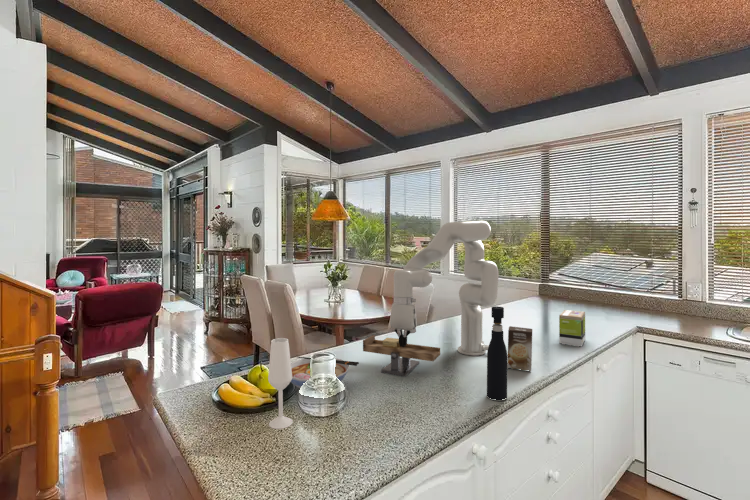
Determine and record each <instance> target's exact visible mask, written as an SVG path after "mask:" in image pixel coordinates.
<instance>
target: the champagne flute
mask: <svg viewBox="0 0 750 500" xmlns="http://www.w3.org/2000/svg"><path fill="white" fill-rule="evenodd" d="M291 363H292V361H291V352H290V344H289V339H288V338H285V337H279V338H274V339H272V340H270V352H269V364H268V377H267V379H268V383H269V384H270V385H271V387H272V388H274V389H275V390H277V392H278V393H277V395H278V396H277V397H278V415H277V417H275V418H274V419H272V420H270V421H269V423H268V426H269V428H272V429H275V430H281V429H285V428H288V427H290V426H292V424H293V422H294V421H293V419H292V418H290V417H287V416H284V406H283V405H284V404H283V403H284V399H283V398H284V397H283V396H284V394H283V390H284V389H286V388H287V387H288V386H289V385H290V383H292V382H291V380H292V369H291Z"/></svg>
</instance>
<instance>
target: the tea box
mask: <svg viewBox="0 0 750 500" xmlns="http://www.w3.org/2000/svg"><path fill="white" fill-rule="evenodd" d="M558 319H559V320H558V322H559V323H558V324H559V325H558V328H559V329H558V331H559V332H558V333H559V334H558V335H559V336H558V338H559V339H558V341H559V344H560V343H562V344H561V345H565V344H568V345H567V346H571V345H575V346H574V347H579V346H581V347H582V346H583V344H584V342H585V340H586V311H582V310H581V311H579V310H570V309H569V310H567V309H564V310H563V311H562V312H561V313H560V314H559V317H558Z"/></svg>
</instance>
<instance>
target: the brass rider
mask: <svg viewBox="0 0 750 500" xmlns="http://www.w3.org/2000/svg"><path fill="white" fill-rule="evenodd" d="M382 340H383V347H389V348H396V349H399V348H401V347H400V344H399V338H393V337H385V339H382Z"/></svg>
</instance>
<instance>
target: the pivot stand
mask: <svg viewBox="0 0 750 500" xmlns="http://www.w3.org/2000/svg"><path fill="white" fill-rule="evenodd" d="M419 365H420V360H417V359H411V358H406V357H400V353H399V352H391V355H390V362H389V363H388V364H387V365H386V366H384V367H382V369H381V370H380V373H382V374H386V375H392V376H398V377H403V378H405V377H407V376H408V375H409V374H410V373H411V372H412V371H413V370H415V368H417V367H418V366H419Z"/></svg>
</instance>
